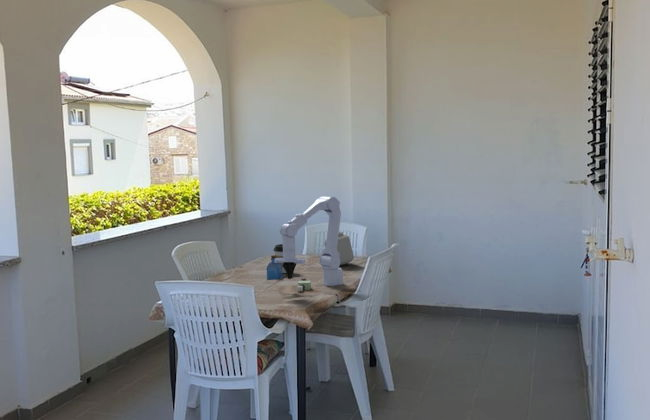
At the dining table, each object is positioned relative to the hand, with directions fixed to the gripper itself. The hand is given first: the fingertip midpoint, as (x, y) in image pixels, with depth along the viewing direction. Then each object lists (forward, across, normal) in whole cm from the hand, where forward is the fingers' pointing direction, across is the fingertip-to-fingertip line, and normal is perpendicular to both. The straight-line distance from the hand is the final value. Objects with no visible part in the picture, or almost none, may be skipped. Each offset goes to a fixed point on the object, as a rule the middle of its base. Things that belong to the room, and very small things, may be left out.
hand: (290, 278), depth 282 cm
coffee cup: (+8, -23, +44) cm, 51 cm away
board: (+7, +1, +4) cm, 8 cm away
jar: (+8, -1, +72) cm, 72 cm away
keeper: (+6, +5, +6) cm, 10 cm away
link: (+6, +3, +6) cm, 9 cm away
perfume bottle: (+8, -22, +29) cm, 37 cm away
